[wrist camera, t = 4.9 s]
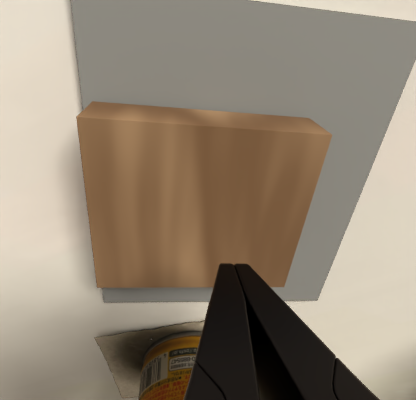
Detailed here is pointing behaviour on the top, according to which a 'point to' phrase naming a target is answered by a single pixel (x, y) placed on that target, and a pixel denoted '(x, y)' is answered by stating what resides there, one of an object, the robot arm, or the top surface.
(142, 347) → the condiment
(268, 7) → the mat
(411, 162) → the top surface
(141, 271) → the wooden block
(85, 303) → the top surface
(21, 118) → the top surface
